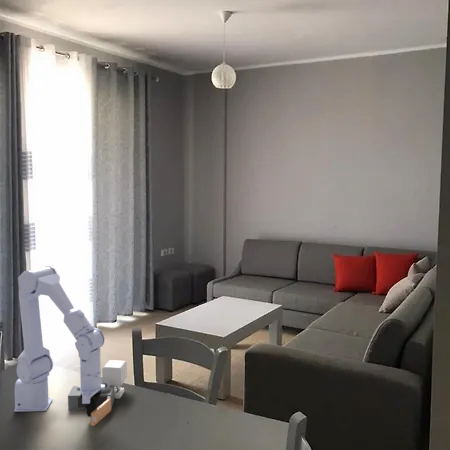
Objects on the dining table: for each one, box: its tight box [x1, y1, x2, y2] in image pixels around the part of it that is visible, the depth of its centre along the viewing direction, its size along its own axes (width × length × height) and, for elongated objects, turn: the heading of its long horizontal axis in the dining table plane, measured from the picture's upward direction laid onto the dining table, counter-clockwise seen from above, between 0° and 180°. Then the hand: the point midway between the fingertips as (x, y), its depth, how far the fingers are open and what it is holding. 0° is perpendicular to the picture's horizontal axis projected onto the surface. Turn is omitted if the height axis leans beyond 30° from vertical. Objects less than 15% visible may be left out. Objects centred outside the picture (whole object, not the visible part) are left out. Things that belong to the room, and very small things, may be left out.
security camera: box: [101, 359, 128, 399], centre depth 171 cm, size 6×7×10 cm
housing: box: [67, 382, 116, 411], centre depth 163 cm, size 13×7×6 cm, turn 93°
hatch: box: [90, 396, 112, 427], centre depth 155 cm, size 11×2×4 cm, turn 163°
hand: (91, 415), depth 153 cm, fingers closed, pressing on hatch
